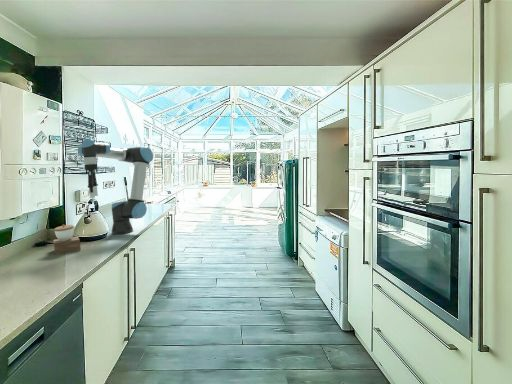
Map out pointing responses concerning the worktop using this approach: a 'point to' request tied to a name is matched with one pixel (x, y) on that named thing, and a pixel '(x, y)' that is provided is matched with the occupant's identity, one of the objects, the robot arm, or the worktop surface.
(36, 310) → the worktop surface
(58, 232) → the lidded jar
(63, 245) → the walnut block
